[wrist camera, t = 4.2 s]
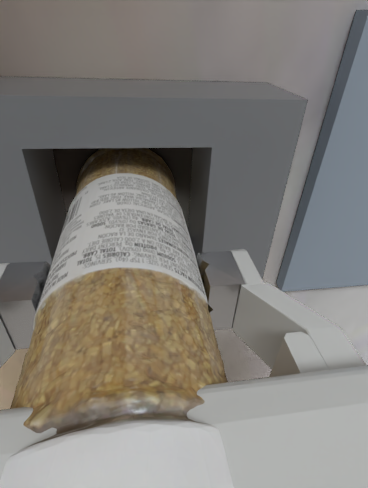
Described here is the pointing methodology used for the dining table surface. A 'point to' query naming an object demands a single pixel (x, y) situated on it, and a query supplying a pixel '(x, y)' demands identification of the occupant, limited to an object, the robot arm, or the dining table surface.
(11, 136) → the power strip
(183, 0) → the dining table surface
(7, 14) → the dining table surface
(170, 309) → the sprinkles bottle
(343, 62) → the rubber mat
